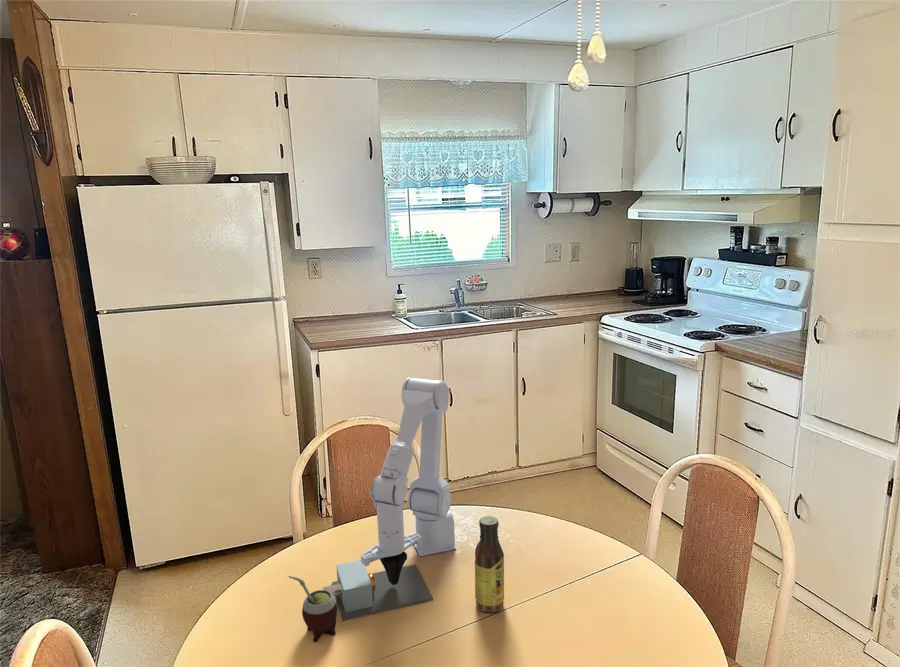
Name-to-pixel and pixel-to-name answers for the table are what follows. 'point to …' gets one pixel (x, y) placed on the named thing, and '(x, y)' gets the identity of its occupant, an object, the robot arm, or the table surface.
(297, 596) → the table surface
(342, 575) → the block
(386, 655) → the table surface
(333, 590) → the pin
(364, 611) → the mat
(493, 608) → the sauce bottle
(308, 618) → the mate gourd
